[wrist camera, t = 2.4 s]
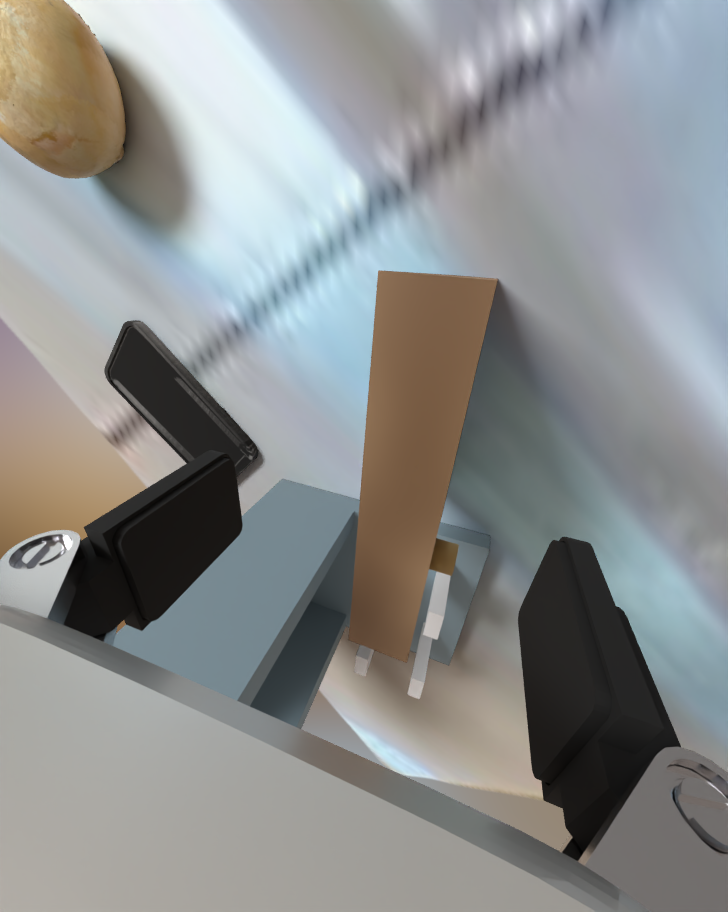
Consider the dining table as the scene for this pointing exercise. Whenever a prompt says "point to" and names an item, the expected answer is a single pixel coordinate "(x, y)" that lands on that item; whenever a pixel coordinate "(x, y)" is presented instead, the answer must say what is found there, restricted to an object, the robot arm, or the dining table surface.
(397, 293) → the door
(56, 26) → the onion
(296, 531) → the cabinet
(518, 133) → the dining table surface
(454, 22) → the dining table surface
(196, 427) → the phone
